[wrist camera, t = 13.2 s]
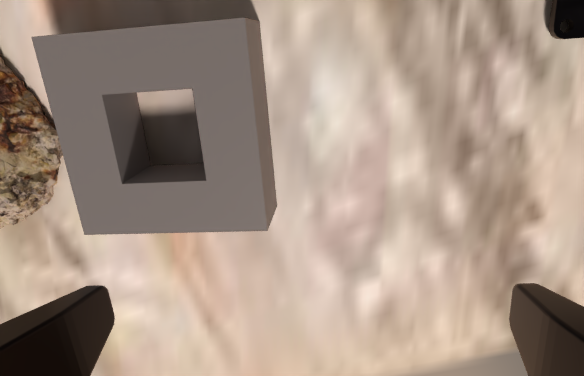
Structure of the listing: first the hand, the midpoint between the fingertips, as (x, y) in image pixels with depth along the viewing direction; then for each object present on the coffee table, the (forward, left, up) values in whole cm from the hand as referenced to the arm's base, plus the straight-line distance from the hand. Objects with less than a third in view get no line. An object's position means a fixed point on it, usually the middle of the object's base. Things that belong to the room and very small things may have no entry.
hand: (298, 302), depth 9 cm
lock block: (+7, -2, -12) cm, 14 cm away
